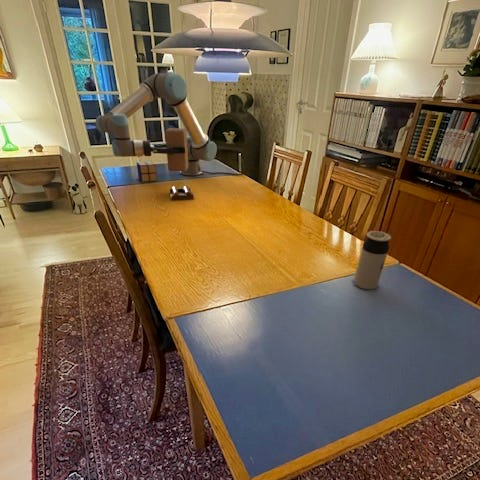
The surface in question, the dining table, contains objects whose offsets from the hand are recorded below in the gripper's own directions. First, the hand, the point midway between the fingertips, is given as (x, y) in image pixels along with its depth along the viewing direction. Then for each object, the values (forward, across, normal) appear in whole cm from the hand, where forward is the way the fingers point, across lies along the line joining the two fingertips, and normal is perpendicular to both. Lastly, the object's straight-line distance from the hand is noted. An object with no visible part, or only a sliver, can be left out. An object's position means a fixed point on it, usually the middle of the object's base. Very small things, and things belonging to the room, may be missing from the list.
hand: (184, 148), depth 187 cm
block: (-4, 0, -11) cm, 12 cm away
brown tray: (-4, +5, -24) cm, 25 cm away
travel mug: (+50, +117, -24) cm, 129 cm away
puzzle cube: (-22, -34, -24) cm, 47 cm away
